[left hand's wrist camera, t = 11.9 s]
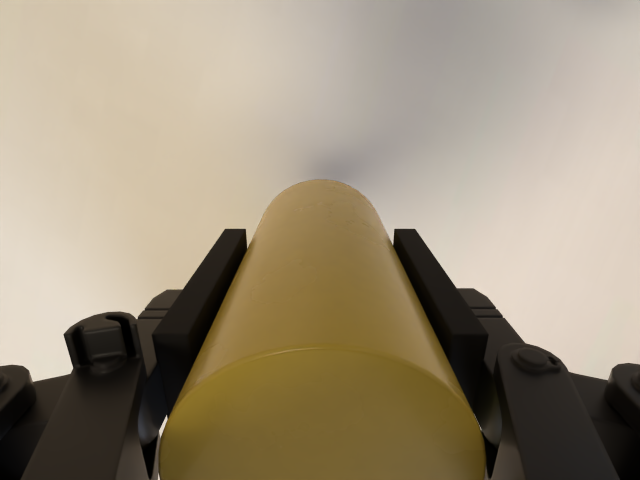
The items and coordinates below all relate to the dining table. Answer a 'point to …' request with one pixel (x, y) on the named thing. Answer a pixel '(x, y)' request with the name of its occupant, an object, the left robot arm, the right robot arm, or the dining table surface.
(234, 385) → the canister
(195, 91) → the dining table surface
